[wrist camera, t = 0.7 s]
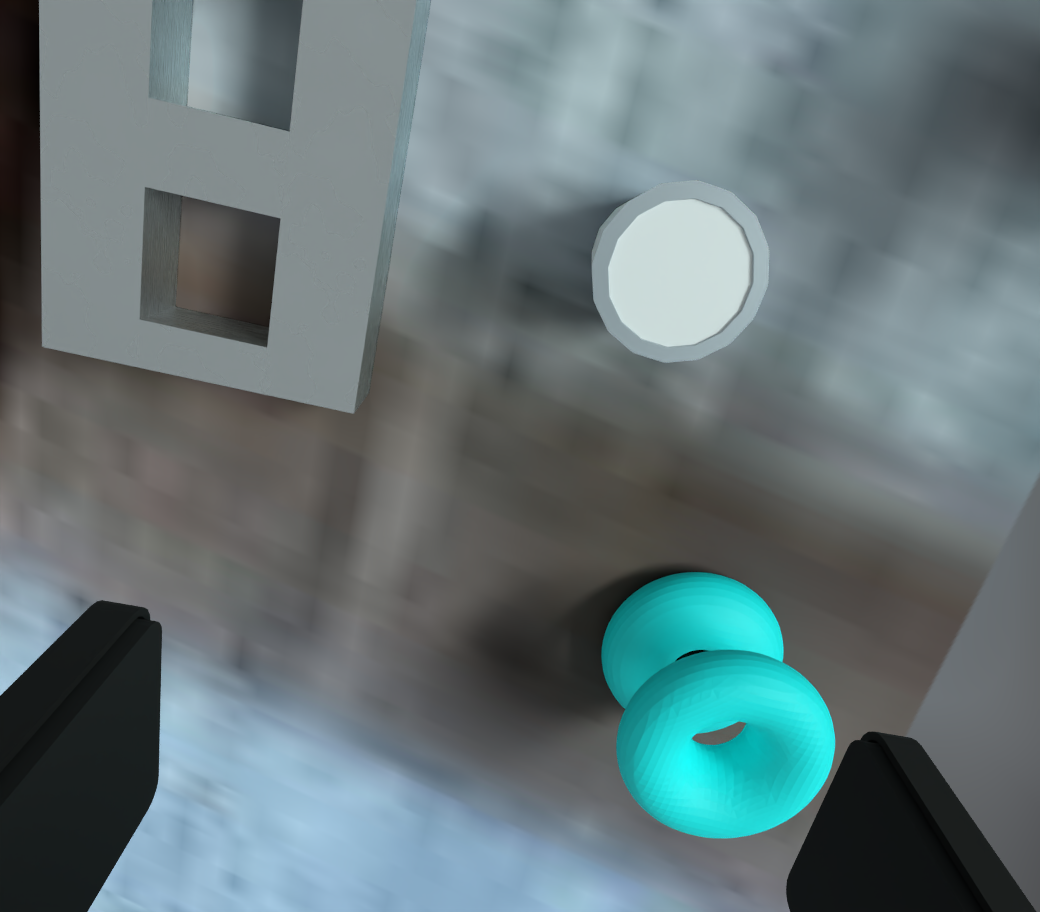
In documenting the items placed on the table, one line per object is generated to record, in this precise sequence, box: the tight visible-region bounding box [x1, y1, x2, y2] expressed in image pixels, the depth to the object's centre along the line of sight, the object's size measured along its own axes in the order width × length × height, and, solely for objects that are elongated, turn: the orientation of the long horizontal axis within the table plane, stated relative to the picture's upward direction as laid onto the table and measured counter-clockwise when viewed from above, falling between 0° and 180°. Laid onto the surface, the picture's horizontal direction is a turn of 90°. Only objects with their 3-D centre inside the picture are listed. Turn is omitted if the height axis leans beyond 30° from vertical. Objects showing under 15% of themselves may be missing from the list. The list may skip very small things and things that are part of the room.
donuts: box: [601, 572, 835, 838], centre depth 37 cm, size 10×10×10 cm
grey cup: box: [592, 180, 769, 363], centre depth 31 cm, size 7×7×7 cm
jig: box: [39, 0, 431, 414], centre depth 31 cm, size 19×14×4 cm
